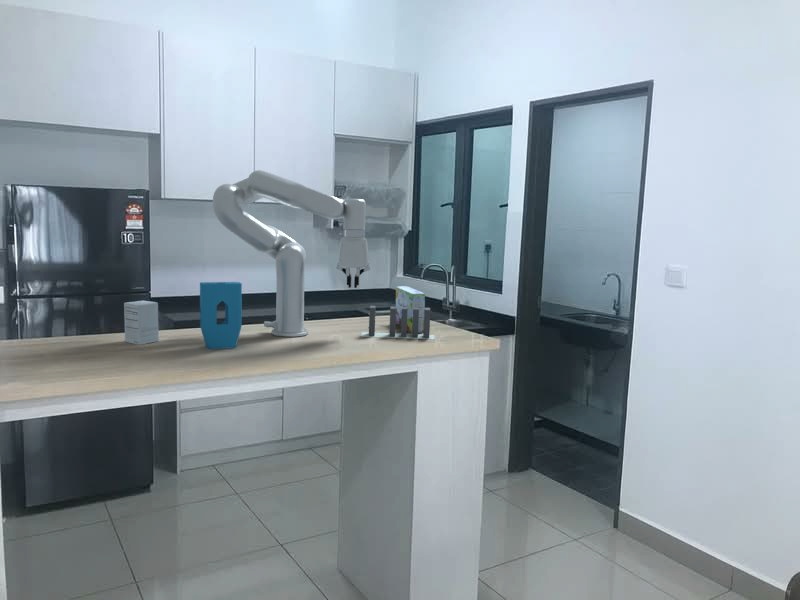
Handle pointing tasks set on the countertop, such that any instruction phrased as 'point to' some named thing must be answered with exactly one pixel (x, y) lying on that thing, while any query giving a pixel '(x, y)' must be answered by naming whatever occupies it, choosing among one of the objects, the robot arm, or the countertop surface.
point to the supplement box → (141, 322)
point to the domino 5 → (426, 323)
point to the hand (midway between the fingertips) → (352, 287)
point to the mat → (386, 335)
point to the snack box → (410, 305)
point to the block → (209, 299)
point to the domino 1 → (372, 320)
